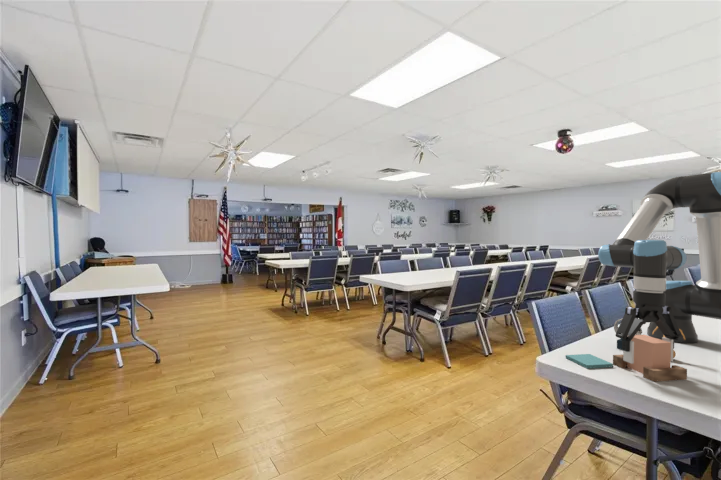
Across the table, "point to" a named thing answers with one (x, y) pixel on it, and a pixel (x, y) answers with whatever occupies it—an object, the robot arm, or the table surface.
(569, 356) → the teal pad
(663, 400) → the table surface
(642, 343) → the terracotta block
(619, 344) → the watch
